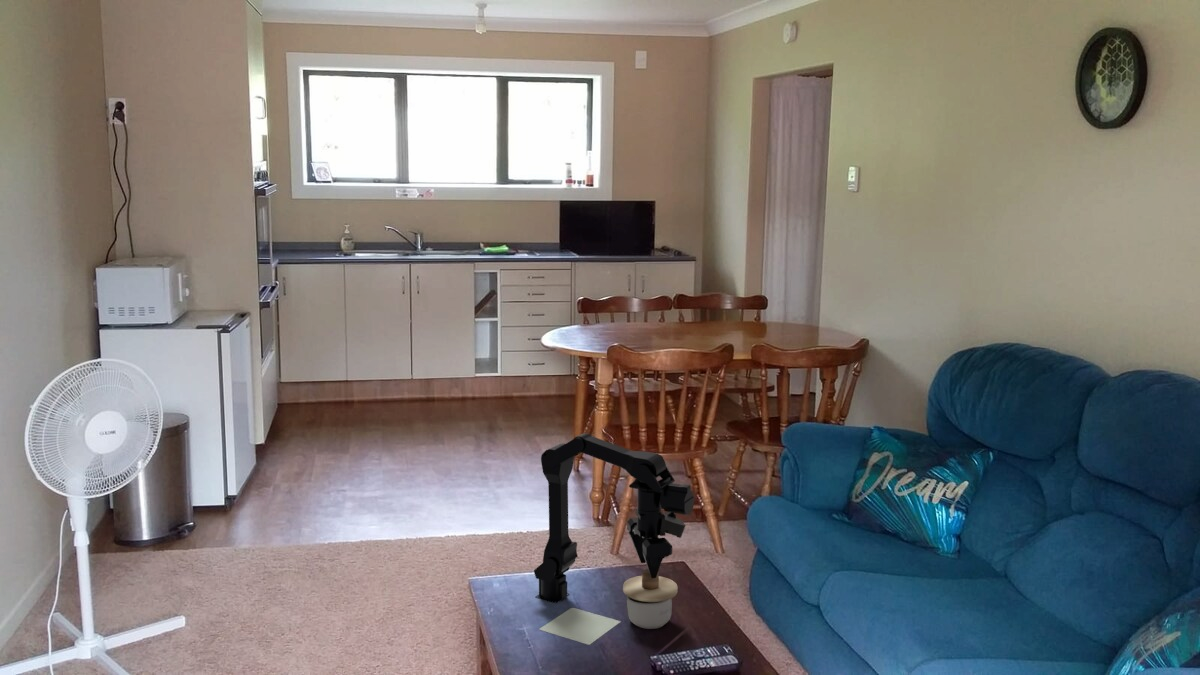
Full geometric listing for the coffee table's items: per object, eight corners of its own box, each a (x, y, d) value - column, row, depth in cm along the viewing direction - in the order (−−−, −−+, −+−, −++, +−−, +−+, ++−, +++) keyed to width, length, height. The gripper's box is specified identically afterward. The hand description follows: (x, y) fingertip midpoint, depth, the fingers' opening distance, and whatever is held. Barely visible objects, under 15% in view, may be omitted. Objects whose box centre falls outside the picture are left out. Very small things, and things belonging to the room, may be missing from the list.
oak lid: (612, 593, 232) (613, 575, 231) (640, 575, 243) (640, 557, 242) (661, 606, 225) (661, 588, 224) (687, 586, 236) (687, 569, 235)
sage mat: (538, 631, 229) (538, 629, 229) (572, 609, 241) (572, 607, 241) (589, 647, 222) (589, 644, 222) (620, 623, 234) (620, 621, 233)
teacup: (668, 636, 227) (668, 604, 226) (622, 632, 229) (622, 600, 228) (675, 611, 241) (676, 580, 239) (632, 606, 243) (632, 576, 242)
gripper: (694, 518, 223) (692, 583, 226) (670, 492, 241) (669, 553, 244) (647, 522, 221) (646, 587, 223) (626, 495, 239) (625, 556, 241)
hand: (648, 570), depth 233 cm, fingers open, 9 cm apart
